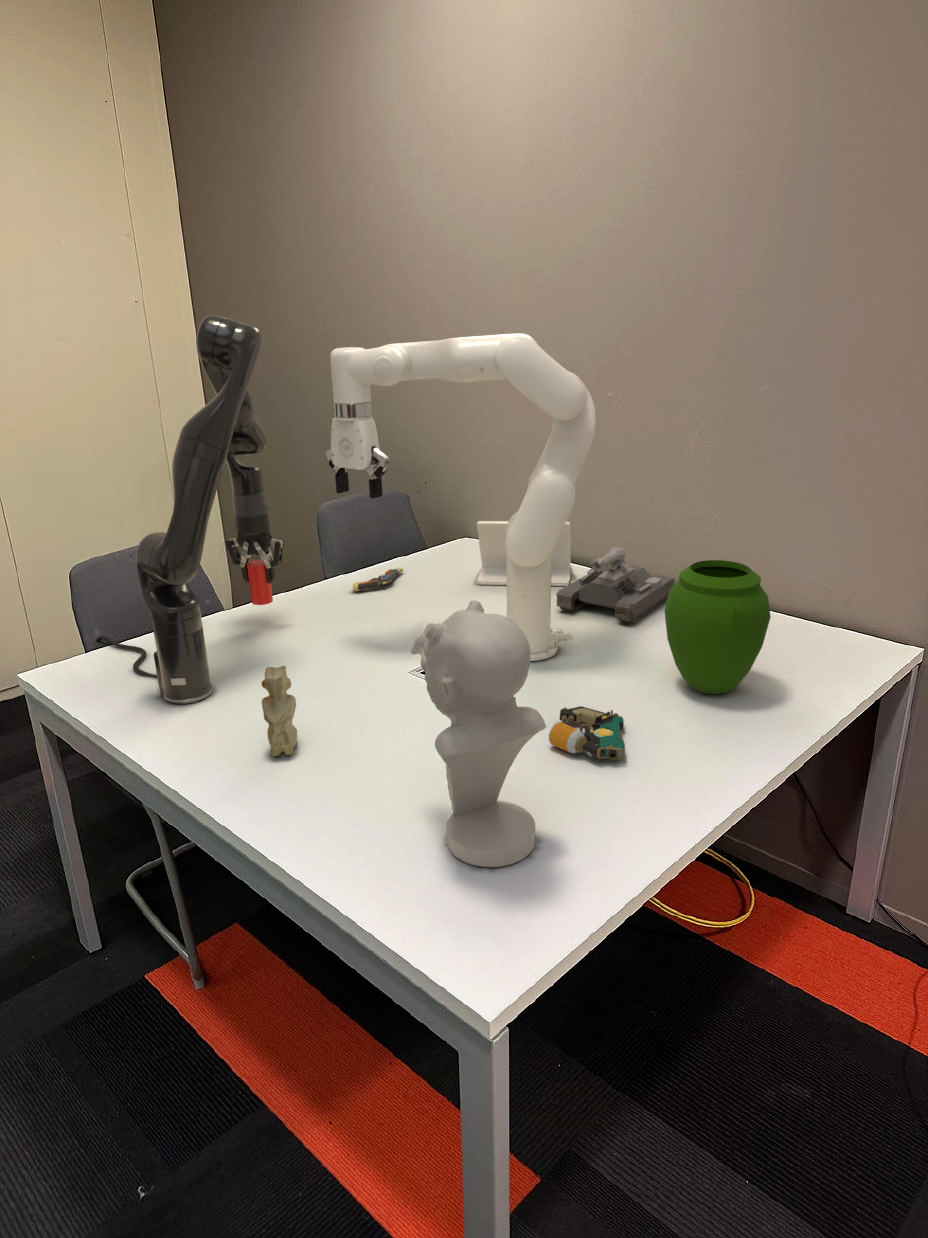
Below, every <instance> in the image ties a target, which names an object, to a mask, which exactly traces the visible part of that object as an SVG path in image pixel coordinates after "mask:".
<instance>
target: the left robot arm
mask: <svg viewBox="0 0 928 1238" xmlns="http://www.w3.org/2000/svg"><path fill="white" fill-rule="evenodd" d="M262 342H263V338H262V331H261V330H260V329H259V328H258V327H257V326H255V325H252V324H249V323H246V322H243V321H240V320H236V319H233V318H230V317H226V316H223V315H218V314H208V315H206V316H204V318H203V319H202V320H201V322H200V323H199V326H198V330H197V332H196V341H195V343H196V352H197V356H198V359H199V362H200V364H201V365H202V368H203V370H204V372H205V374H206V377H207V379H208V380H209V383H210V384H211V387H212V389H213V391H214V393H215V396H214V397H213V398H212V399H211V400H210V401H209V402H208V403H207V404H205V405H204V406H203V407H202V408H201V409H199V410H198V411H197V412H195V413H194V414H193V415H192V416H191V417H190V418H189V419H188V420H187V421H185V423H184V424H183V426H182V428H181V430H180V432H179V436H178V439H177V442H176V445H175V448H174V452H173V457H172V462H171V477H172V478H171V479H172V488H173V509H172V513H171V517H170V520H169V524H168V527H167V530H166V532H165V531H155V532H151V533H149V534H147V535H145V536H144V537H143V538H142V539H141V540H140V542H139V543H138V545H137V549H136V553H135V565H136V569H137V574H138V579H139V585H140V588H141V593H142V598H143V601H144V603H145V605H146V607H147V609H148V611H149V615H150V619H151V625H152V632H153V637H154V643H155V650H156V651H155V652H153V662H154V666H155V672H156V674H154V673H149V672H147V671H144V670H142V669H141V668H139V665H140V664H141V662H143V661H144V660H145V659H146V657H147V651H146V650H145V649H144V648H142V647H139V646H134V645H129V644H122V643H120V642H117V641H115V640H113V639H112V638H110V637H108V636H106V635H98V637H96V639H95V642H96V643H97V642H101V641H102V640H103V641H105V642H107V643H109V644H110V645H112V646H114V647H116V648H120V649H124V650H130V651H136V652H139V653H141V655H140V657H138V658H137V659H136V660H135V662H134V663H133V664H132V668H133V670H134V671H135V673H137V674H138V675H139V676H143V677H146V678H152V679H157V685H158V690H159V694H160V695H159V696H160V697H161V698H163V699H164V701H166V702H168V703H170V704H175V705H184V704H185V705H187V704H193V703H196V702H199V701H202V700H204V699H207V698H208V697H209V696H211V694H212V693H213V686H212V682H211V674H210V666H209V660H208V654H207V648H206V647H207V646H206V639H205V634H204V625H203V620H202V612H201V607H200V601H199V598H198V597H197V595H196V594H195V593H194V592H193V591H192V589H191V587H190V586H189V584H188V583H189V582H191V581H192V580H193V579H194V577H195V576H196V574H197V573H198V570H199V568H200V565H201V562H202V556H203V553H204V547H205V541H206V536H207V535H206V534H207V529H208V525H209V520H210V516H211V511H212V508H213V506H214V505H213V504H214V501H215V498H216V494H217V490H218V487H219V484H220V481H221V477H222V474H223V471H224V468H225V464H226V466H227V468H228V472H229V476H230V483H231V484H230V485H231V491H232V506H233V514H234V521H235V528H236V529H235V531H236V533H237V534H236V535H237V536H236V537H235V538H234V537H231V538H229V539H227V540H225V545H226V548H227V551H228V553H229V556H230V559H231V562H232V564H233V565H237V566H239V567H240V569H241V575H242V579H243V580H244V582H245V583H249V578H248V570H247V563H248V562H251V558H252V555H256V556H259V557H260V560H263V561H264V563H265V565H266V567H267V568H266V576H267V583H271V584H272V583H273V582H274V581H275V580H276V569H275V567H277V566H278V565H280V564H281V563H282V562H283V555H284V546H285V541H284V539H283V538H281V539H276V538H273V536H272V535H271V532H270V531H271V526H270V518H269V507H268V501H267V497H266V494H265V493H266V492H265V485H264V478H263V477H264V476H263V471H262V468H261V467H260V466H259V465H256V464H252V463H251V464H250V463H244V462H241V461H240V460H239V459H238V458H237V457H238V456H250V455H252V456H253V455H259V454H261V453H263V452H264V450H265V449H266V447H267V445H268V444H267V443H268V440H267V434H266V431H265V429H264V427H263V425H262V423H261V422H260V421H259V419H258V418H257V416H256V412H255V405H254V400H253V396H252V393H251V392H250V390H249V385H250V382H251V380H252V377H253V375H254V372H255V369H256V367H257V364H258V361H259V358H260V354H261V349H262V344H263V343H262ZM271 545H272V548H273V550H274V551H273V553H272V550H271V549H270V546H271ZM239 547H240V548H241V549H242V551H241V553H240V550H239Z"/></svg>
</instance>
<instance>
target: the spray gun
mask: <svg viewBox="0 0 928 1238" xmlns="http://www.w3.org/2000/svg"><path fill="white" fill-rule="evenodd" d="M566 722H568V723H570V724H571V725H574V726H576V727H579V729H578V728H575V727H573V726H571V725H569V724H566ZM624 727H625V723H624V717H622V716H621V715H619V713H618V712H614V710H613V709H610V711H606V712H603V711H600V710H597V709H593V708H589V707H586V706H582V705H581V706H576V707H571V708H567V707H563V708H561V709H560V710H559V722H557V723H555V724H554V725H553V726H552V727H550V730H549V732H548V741H549V744H550V745H552V746H554V747H557V748H558V749H561V750H563V751H565V752H568V753H570V754H577V753H581V754H582V753H583V752H587V753H589V754H591V755H593V756H595V757H596V758H597V759H599V760H601V759H607V760H608V759H609V760H618V761H619V760H620V761H622V760H624V759H625V757H626V743H625V741H624V738H623V731H622V730H623V729H624ZM583 729H584V731H583Z"/></svg>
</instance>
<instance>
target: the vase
mask: <svg viewBox="0 0 928 1238" xmlns="http://www.w3.org/2000/svg"><path fill="white" fill-rule="evenodd" d="M761 582H762V577H761V576H760V575H759V574H758V573H757V572H755V571H754V570H753V569H752V568H751V567H750V566H748V565H746V564H743V563H741V562H737V561H732V560H723V559H722V560H721V559H710V560H709V559H708V560H707V559H706V560H701V561H696V562H694V563H692V564H690V565H689V566H687V567H685V568H684V569H681V570H680V572H679V574H678V580H677V582H675V583H674V586H673V587H672V588H671V589H670V591H669V595H668V598H667V600H666V601H665V604H664V605H665V606H664V619H665V620H664V621H665V628H666V637H667V638H666V639H667V642H668V645H669V649H670V651H671V655H672V658H673V661H674V664H675V666H676V668H677V670H678V671H679V674H680V675H681V677H682V678H683V680H684V682H686V683H687V685H688V687H690V688H692V689H693V690H695V691H697V692H699V693H702V694H708V695H720V694H725V693H729V692H731V691H732V690H734V688H736V687H737V686H738V685H740V683H742V681H743V680H744V679H745V678H746V676H747V675H748V674H749V673H750V671H751V669H752V667H753V665H754V664H755V662H756V660H757V658H758V656H759V654H760V652H761V650H762V648H763V645H764V642H765V638H766V635H767V632H768V629H769V624H770V621H771V617H772V616H771V609H770V602H769V601H770V600H769V596H768V593H767V592H766V591H765V590H764V588H763V587H762V586H761Z"/></svg>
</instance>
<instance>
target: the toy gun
mask: <svg viewBox="0 0 928 1238" xmlns="http://www.w3.org/2000/svg"><path fill="white" fill-rule="evenodd" d="M403 572H404V568H403V567H401V568H399V567H397V568H394V569H393V568H391V569H390V568H389V569H388V570H386V571H385V572H384V574H381V575H378V576H377V577H373V578H371V579H369V580H367V581H362V582H358V581H356V582H354V583H352V590H353V592H359V591H363V590H367V589H371V588H375V587H378V586H384V585H386V584H388V585H389V584H390V583H391V582H393V580H395V578H396V577H397V576H398V575H399V574H401V573H403Z"/></svg>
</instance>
